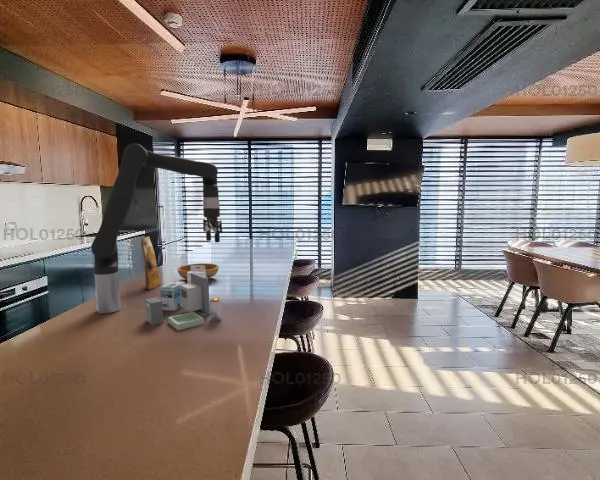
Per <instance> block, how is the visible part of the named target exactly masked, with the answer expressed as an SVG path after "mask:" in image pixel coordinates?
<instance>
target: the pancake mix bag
mask: <svg viewBox="0 0 600 480" xmlns="http://www.w3.org/2000/svg"><path fill="white" fill-rule="evenodd" d="M141 249H142V254H143V261H144V272H145V276H144V277H145V289H146V290H152V289H155V288H156V287H158V286H159V285H160V284H161V277H160V274H159V269H158V263H157V259H156V254H155V250H154V247H153V243H152V241H151V238H150V235H148V236H146V237H143V238H142V240H141Z"/></svg>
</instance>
